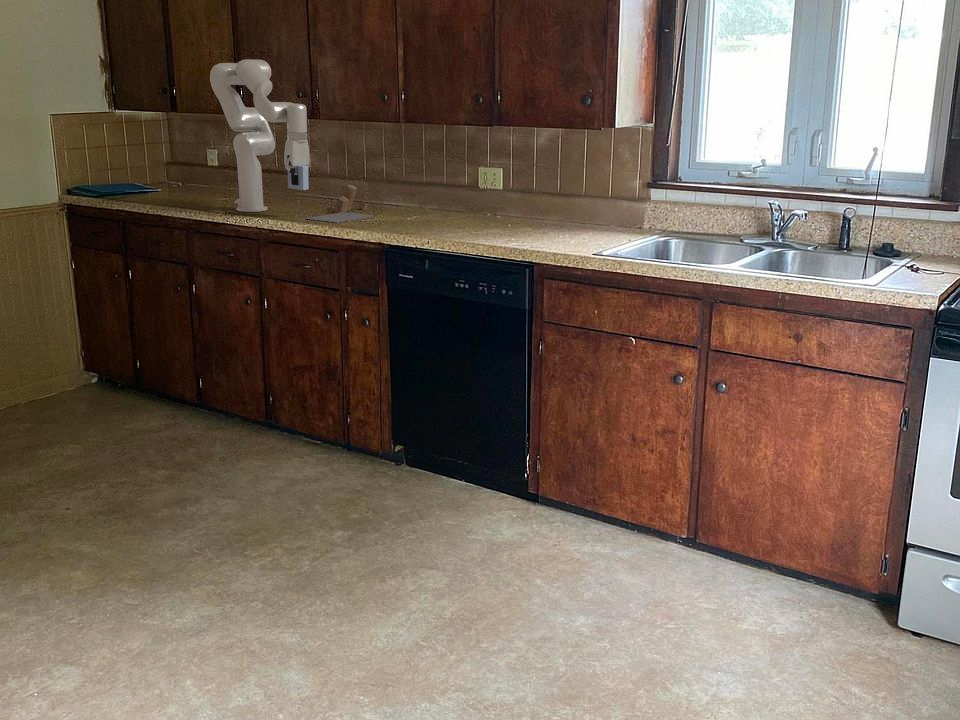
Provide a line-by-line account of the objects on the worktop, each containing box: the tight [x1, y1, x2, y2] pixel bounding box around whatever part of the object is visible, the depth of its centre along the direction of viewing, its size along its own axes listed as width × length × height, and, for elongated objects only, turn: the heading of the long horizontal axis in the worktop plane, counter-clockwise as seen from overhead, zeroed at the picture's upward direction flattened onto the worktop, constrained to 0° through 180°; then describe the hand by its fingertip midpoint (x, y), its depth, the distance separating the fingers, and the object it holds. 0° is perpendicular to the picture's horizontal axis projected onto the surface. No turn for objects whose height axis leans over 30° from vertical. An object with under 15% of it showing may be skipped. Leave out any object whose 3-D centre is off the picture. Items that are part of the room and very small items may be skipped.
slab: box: [287, 166, 309, 191], centre depth 373 cm, size 8×3×9 cm, turn 58°
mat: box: [304, 212, 374, 224], centre depth 375 cm, size 16×22×1 cm
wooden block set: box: [333, 184, 368, 213], centre depth 394 cm, size 18×9×10 cm, turn 152°
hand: (298, 184), depth 374 cm, fingers closed on slab, 3 cm apart
